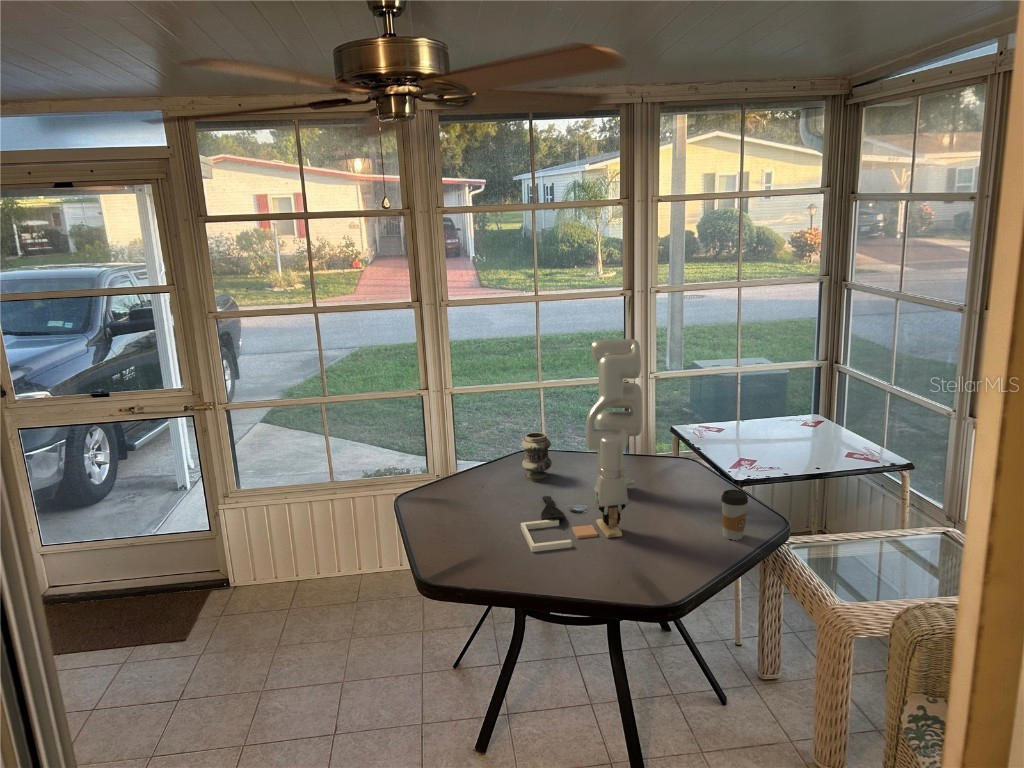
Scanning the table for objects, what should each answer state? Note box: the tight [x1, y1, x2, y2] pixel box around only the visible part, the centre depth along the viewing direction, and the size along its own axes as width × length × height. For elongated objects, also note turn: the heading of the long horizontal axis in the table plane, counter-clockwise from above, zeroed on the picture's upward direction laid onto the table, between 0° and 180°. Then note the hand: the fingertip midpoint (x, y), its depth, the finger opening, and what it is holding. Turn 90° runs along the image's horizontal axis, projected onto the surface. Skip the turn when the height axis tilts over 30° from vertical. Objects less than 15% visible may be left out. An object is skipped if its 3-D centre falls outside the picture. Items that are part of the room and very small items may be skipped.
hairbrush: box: [540, 495, 566, 521], centre depth 256 cm, size 8×4×25 cm
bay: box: [520, 519, 573, 553], centre depth 236 cm, size 13×18×2 cm
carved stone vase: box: [521, 431, 553, 482], centre depth 288 cm, size 12×12×18 cm
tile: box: [571, 524, 599, 540], centre depth 238 cm, size 7×7×2 cm
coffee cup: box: [721, 489, 749, 541], centre depth 230 cm, size 8×8×15 cm
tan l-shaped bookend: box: [595, 505, 623, 539], centre depth 239 cm, size 5×12×8 cm, turn 11°
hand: (611, 522), depth 239 cm, fingers closed on tan l-shaped bookend, 3 cm apart
